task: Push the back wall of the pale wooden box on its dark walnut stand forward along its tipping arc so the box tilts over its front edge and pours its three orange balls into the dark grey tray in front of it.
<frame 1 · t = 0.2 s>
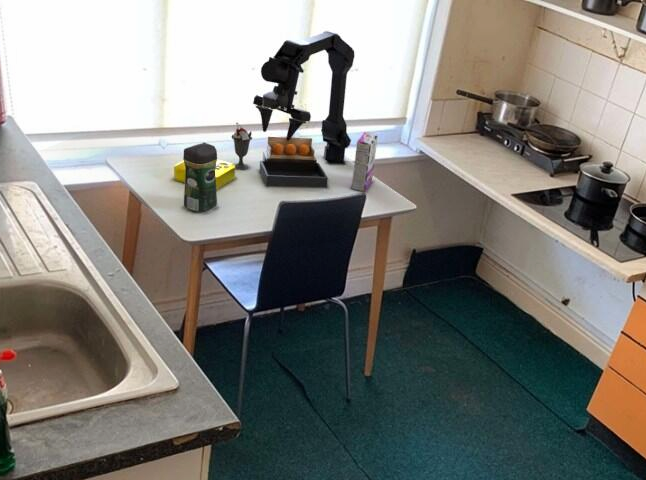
hand: (275, 136, 241), 15 cm above the table, tool pointing down, fingers open, 9 cm apart
coffee jar: (200, 207, 226), on the table
orange ball 2: (291, 149, 255), point 8 cm above the table, touching wooden box
orange ball 3: (278, 148, 253), point 8 cm above the table, touching wooden box
dark grey tray: (292, 179, 255), on the table
yellow flat box: (205, 179, 244), on the table
stand: (288, 171, 260), on the table
wooden box: (291, 148, 254), point 8 cm above the table, hinge at -0.1°, touching orange ball 1, orange ball 2, orange ball 3
orange ball 1: (303, 150, 256), point 8 cm above the table, touching wooden box
candy bar box: (361, 185, 259), on the table
sundae: (240, 167, 257), on the table
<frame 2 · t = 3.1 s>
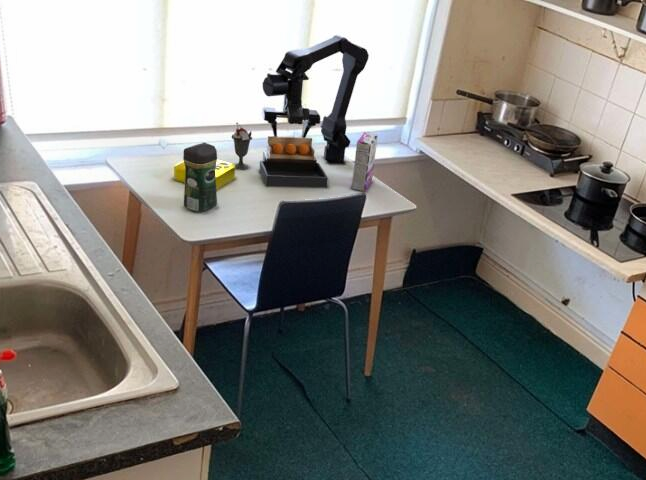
hand: (289, 140, 257), 9 cm above the table, tool pointing down
orange ball 2: (290, 148, 255), point 8 cm above the table, tilted 15°, touching wooden box
orange ball 3: (277, 148, 254), point 8 cm above the table, tilted 15°, touching wooden box
wooden box: (291, 148, 254), point 8 cm above the table, hinge at 0.7°, touching gripper, orange ball 1, orange ball 2, orange ball 3
orange ball 1: (303, 149, 256), point 8 cm above the table, tilted 15°, touching wooden box
everything else where it was.
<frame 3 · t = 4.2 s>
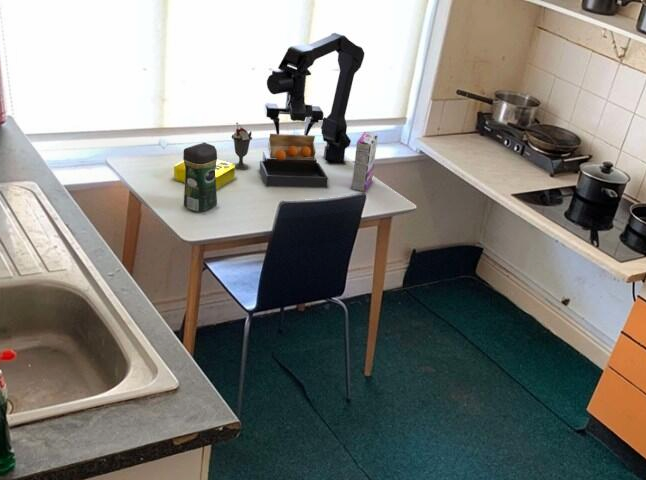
hand: (291, 137, 253), 12 cm above the table, tool pointing down
orange ball 2: (292, 151, 252), point 8 cm above the table, tilted 72°, touching wooden box
orange ball 3: (280, 155, 250), point 7 cm above the table, tilted 140°
wooden box: (292, 146, 252), point 9 cm above the table, hinge at 28.8°, touching gripper, orange ball 1, orange ball 2
orange ball 1: (305, 151, 254), point 8 cm above the table, tilted 71°, touching wooden box
everything else where it was.
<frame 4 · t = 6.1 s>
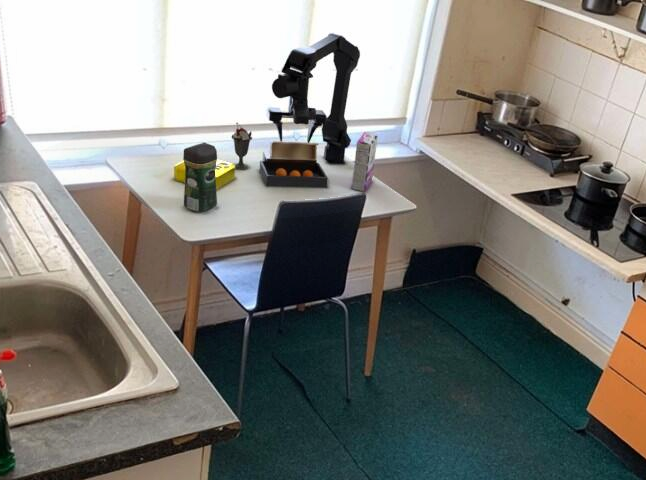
hand: (294, 141, 249), 12 cm above the table, tool pointing down
orange ball 2: (295, 175, 251), point 2 cm above the table, tilted 59°, touching dark grey tray
orange ball 3: (281, 173, 251), point 2 cm above the table, tilted 95°, touching dark grey tray
wooden box: (294, 150, 251), point 9 cm above the table, hinge at 72.4°, touching gripper
orange ball 1: (307, 175, 253), point 2 cm above the table, tilted 71°, touching dark grey tray
everything else where it was.
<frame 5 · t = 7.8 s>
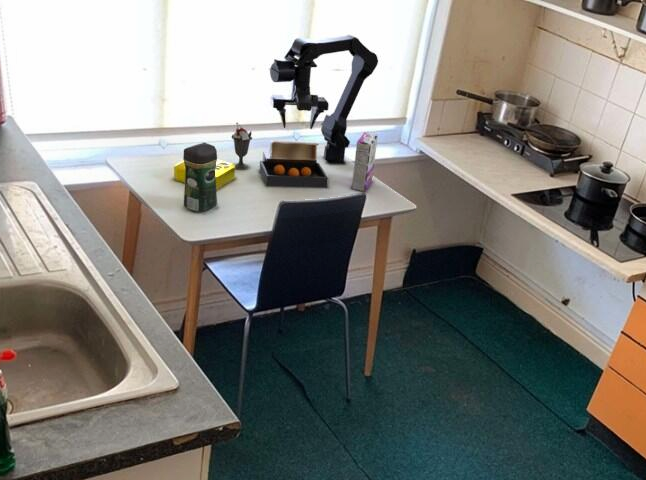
hand: (297, 128, 258), 13 cm above the table, tool pointing down, fingers open, 9 cm apart
orange ball 2: (293, 173, 253), point 2 cm above the table, tilted 126°, touching dark grey tray
orange ball 3: (279, 170, 253), point 2 cm above the table, tilted 165°, touching dark grey tray
wooden box: (294, 151, 250), point 9 cm above the table, hinge at 72.9°
orange ball 1: (306, 172, 255), point 2 cm above the table, tilted 160°, touching dark grey tray
everything else where it was.
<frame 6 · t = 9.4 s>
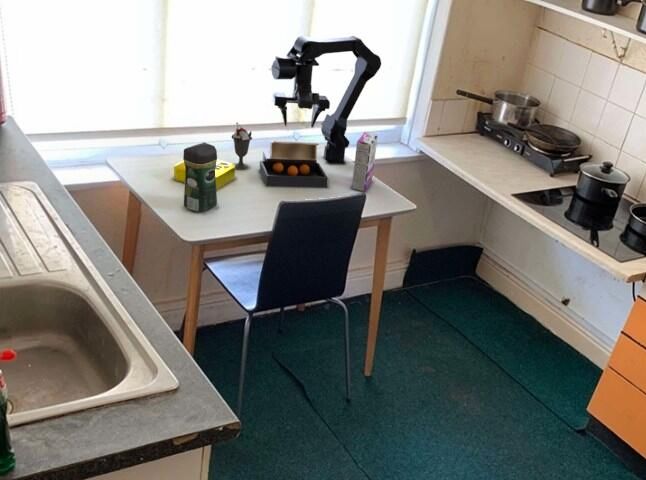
hand: (298, 126, 259), 13 cm above the table, tool pointing down, fingers open, 9 cm apart
orange ball 2: (292, 171, 254), point 2 cm above the table, tilted 171°, touching dark grey tray
orange ball 3: (278, 167, 255), point 2 cm above the table, tilted 90°, touching dark grey tray
orange ball 1: (304, 169, 257), point 2 cm above the table, tilted 117°, touching dark grey tray
everything else where it was.
at the end: orange ball 1 inside the target area in the dark grey tray (5.4 cm from its centre), point 2.2 cm above the dark grey tray's base; orange ball 2 inside the target area in the dark grey tray (1.3 cm from its centre), point 2.2 cm above the dark grey tray's base; orange ball 3 inside the target area in the dark grey tray (6.0 cm from its centre), point 2.2 cm above the dark grey tray's base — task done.
